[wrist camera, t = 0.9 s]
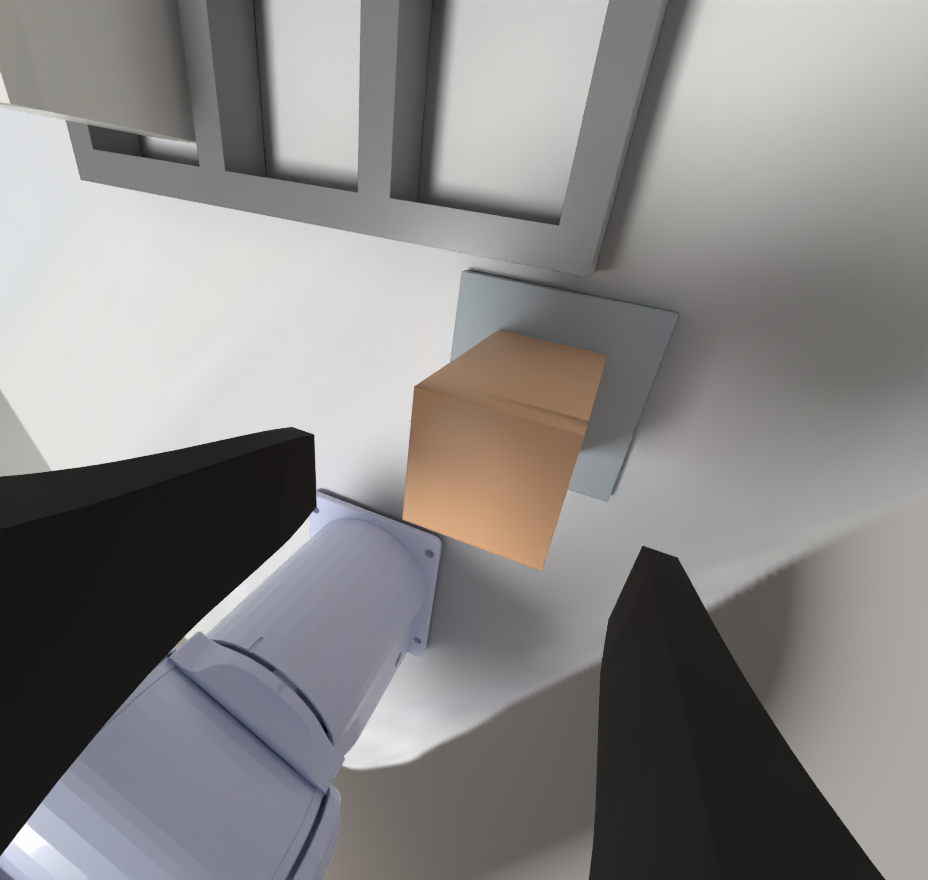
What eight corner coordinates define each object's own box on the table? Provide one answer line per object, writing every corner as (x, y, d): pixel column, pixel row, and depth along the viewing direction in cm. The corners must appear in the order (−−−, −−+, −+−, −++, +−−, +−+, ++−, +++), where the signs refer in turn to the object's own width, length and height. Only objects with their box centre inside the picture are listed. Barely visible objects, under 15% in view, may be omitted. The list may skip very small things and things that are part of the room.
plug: (576, 452, 17) (541, 571, 11) (481, 424, 18) (402, 519, 12) (606, 355, 15) (584, 435, 9) (498, 329, 16) (413, 386, 10)
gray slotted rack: (594, 272, 14) (588, 277, 13) (129, 184, 20) (80, 179, 18) (688, -71, 10) (696, -129, 9) (77, -63, 16) (9, -99, 14)
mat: (608, 495, 18) (607, 502, 17) (443, 443, 19) (439, 448, 19) (677, 312, 14) (679, 315, 14) (466, 270, 16) (462, 271, 15)
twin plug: (225, 148, 17) (10, 103, 11) (152, 137, 18) (-81, 91, 12) (211, 15, 15) (-58, -121, 9) (130, 11, 16) (-158, -114, 10)
